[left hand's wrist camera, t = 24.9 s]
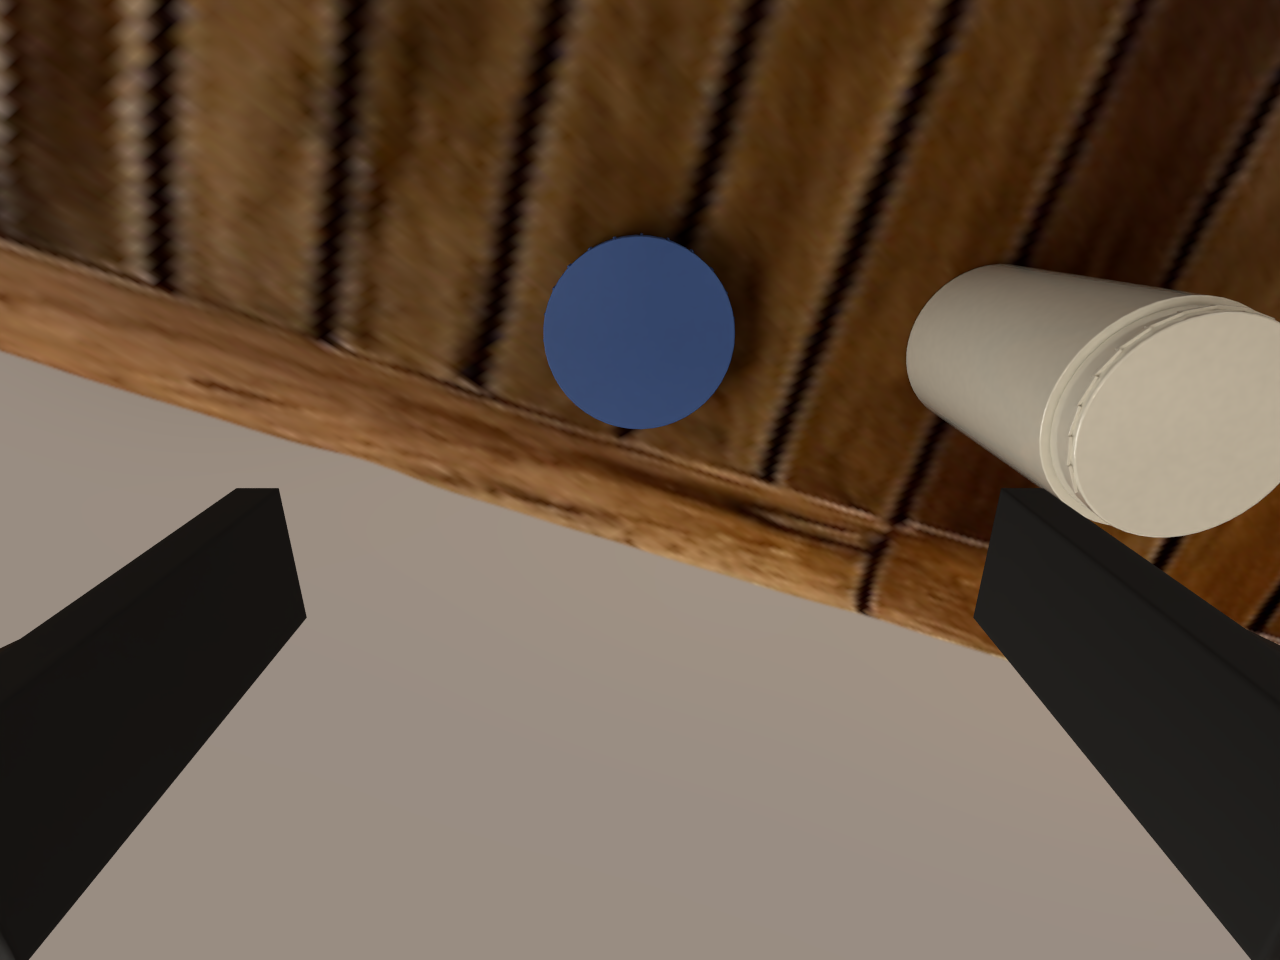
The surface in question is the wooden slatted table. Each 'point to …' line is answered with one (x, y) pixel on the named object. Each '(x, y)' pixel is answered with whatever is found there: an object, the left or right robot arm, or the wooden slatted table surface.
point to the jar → (1108, 392)
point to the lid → (639, 332)
